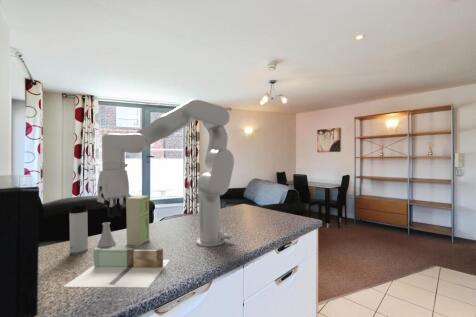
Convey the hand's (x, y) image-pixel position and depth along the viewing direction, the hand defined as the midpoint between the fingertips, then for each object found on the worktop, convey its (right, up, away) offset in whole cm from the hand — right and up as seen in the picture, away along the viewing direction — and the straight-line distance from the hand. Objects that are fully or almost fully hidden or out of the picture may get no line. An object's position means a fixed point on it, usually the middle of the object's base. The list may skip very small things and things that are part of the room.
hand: (114, 216), depth 92 cm
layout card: (+7, -17, -8) cm, 20 cm away
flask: (-13, -18, +19) cm, 29 cm away
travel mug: (-20, -18, +11) cm, 29 cm away
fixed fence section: (+13, -17, -5) cm, 22 cm away
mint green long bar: (+1, -17, -4) cm, 17 cm away
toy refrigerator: (0, -17, +22) cm, 28 cm away
